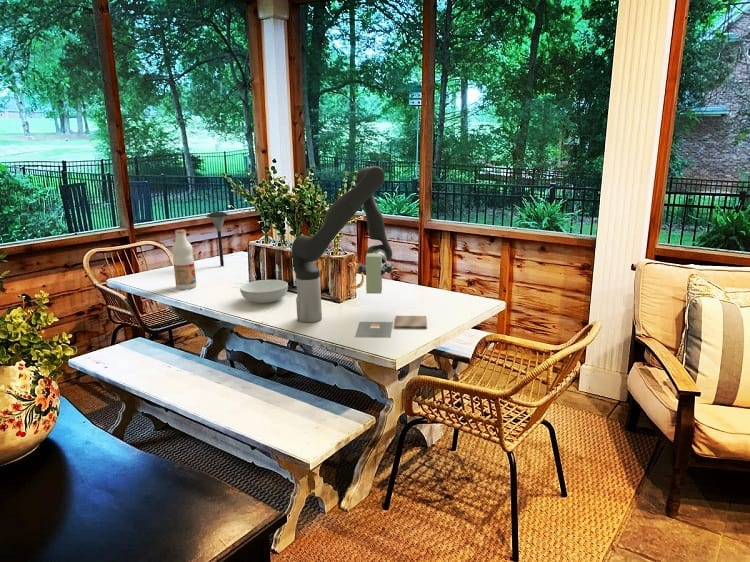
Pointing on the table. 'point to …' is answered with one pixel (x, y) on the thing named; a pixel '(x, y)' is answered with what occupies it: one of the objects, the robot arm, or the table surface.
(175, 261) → the fruit juice
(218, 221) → the solar garden light
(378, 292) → the sage block
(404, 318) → the walnut pad
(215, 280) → the table surface
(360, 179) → the robot arm
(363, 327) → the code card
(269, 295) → the serving bowl
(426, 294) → the table surface
